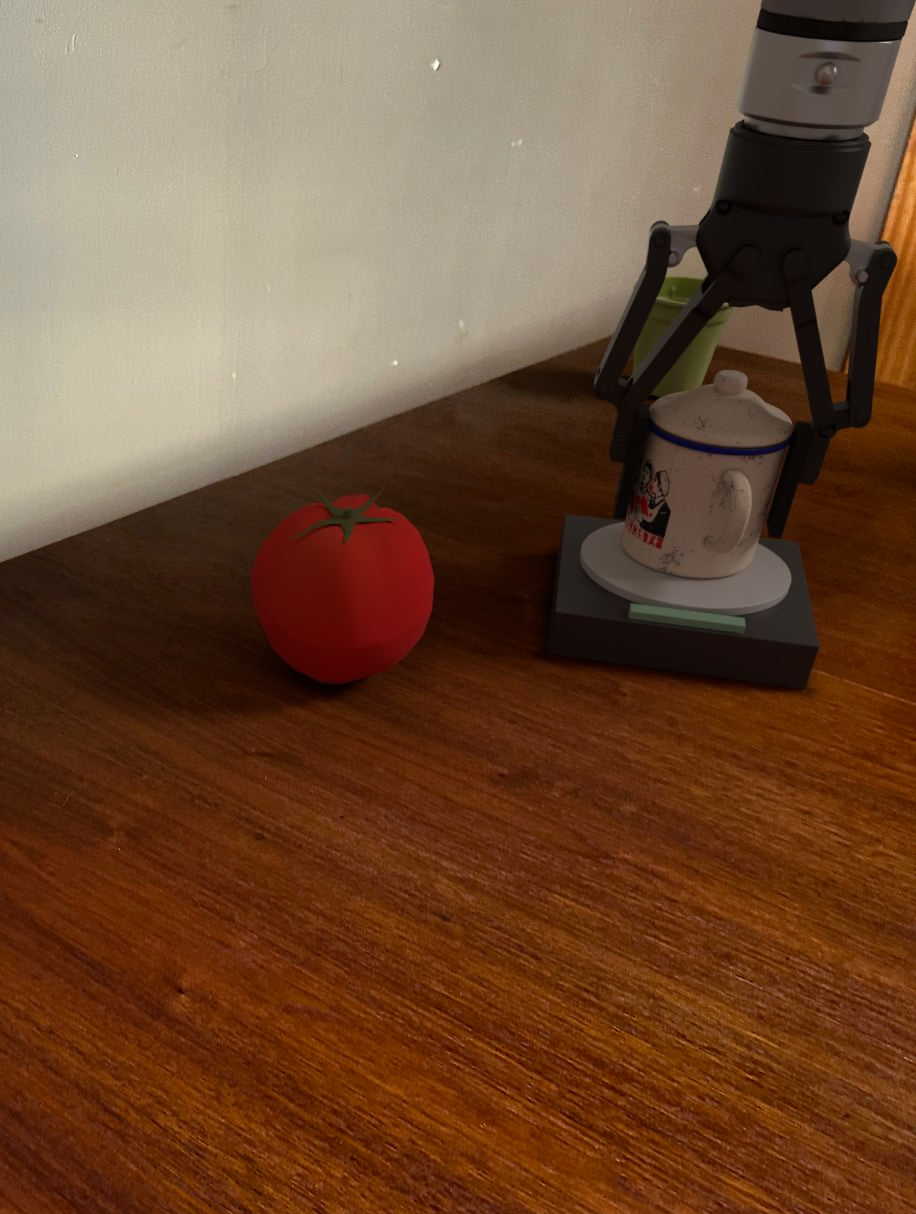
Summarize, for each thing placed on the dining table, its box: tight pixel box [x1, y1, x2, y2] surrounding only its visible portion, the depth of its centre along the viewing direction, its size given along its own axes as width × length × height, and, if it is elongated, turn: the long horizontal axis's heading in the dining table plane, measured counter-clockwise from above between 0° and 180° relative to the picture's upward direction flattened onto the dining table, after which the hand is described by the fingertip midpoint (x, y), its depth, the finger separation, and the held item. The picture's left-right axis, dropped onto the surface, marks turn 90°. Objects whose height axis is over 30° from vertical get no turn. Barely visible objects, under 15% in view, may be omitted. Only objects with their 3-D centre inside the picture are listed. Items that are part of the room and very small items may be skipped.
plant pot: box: [632, 275, 735, 398], centre depth 129 cm, size 9×9×9 cm
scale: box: [546, 513, 820, 690], centre depth 95 cm, size 16×16×4 cm
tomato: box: [250, 490, 435, 686], centre depth 86 cm, size 11×13×10 cm
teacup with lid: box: [621, 369, 794, 578], centre depth 90 cm, size 12×9×12 cm
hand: (695, 520), depth 92 cm, fingers closed on teacup with lid, 9 cm apart
